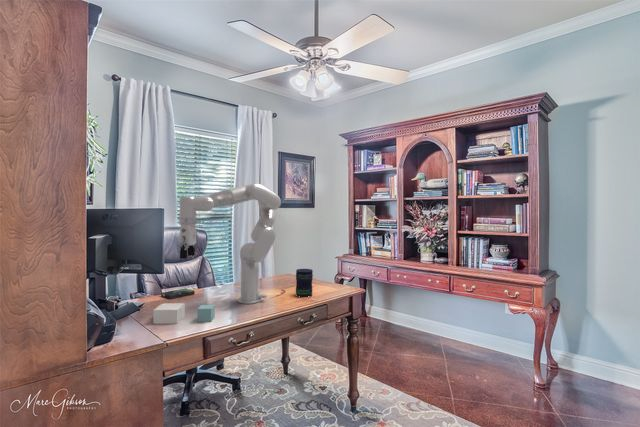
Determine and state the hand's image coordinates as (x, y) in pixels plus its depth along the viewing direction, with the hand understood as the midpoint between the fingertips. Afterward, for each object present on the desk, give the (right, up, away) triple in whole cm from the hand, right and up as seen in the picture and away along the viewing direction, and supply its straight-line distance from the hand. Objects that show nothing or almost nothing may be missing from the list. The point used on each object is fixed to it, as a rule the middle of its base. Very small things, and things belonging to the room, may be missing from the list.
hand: (187, 256), depth 163 cm
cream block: (-3, -27, -13) cm, 30 cm away
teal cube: (+13, -27, -12) cm, 32 cm away
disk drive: (-17, -27, +29) cm, 43 cm away
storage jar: (+55, -27, +34) cm, 70 cm away
